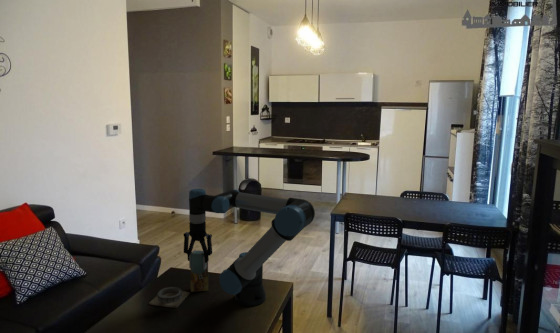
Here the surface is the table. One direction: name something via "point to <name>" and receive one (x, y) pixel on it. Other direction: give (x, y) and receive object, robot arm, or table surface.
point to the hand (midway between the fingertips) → (198, 267)
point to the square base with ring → (169, 297)
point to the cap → (197, 262)
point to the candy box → (199, 281)
